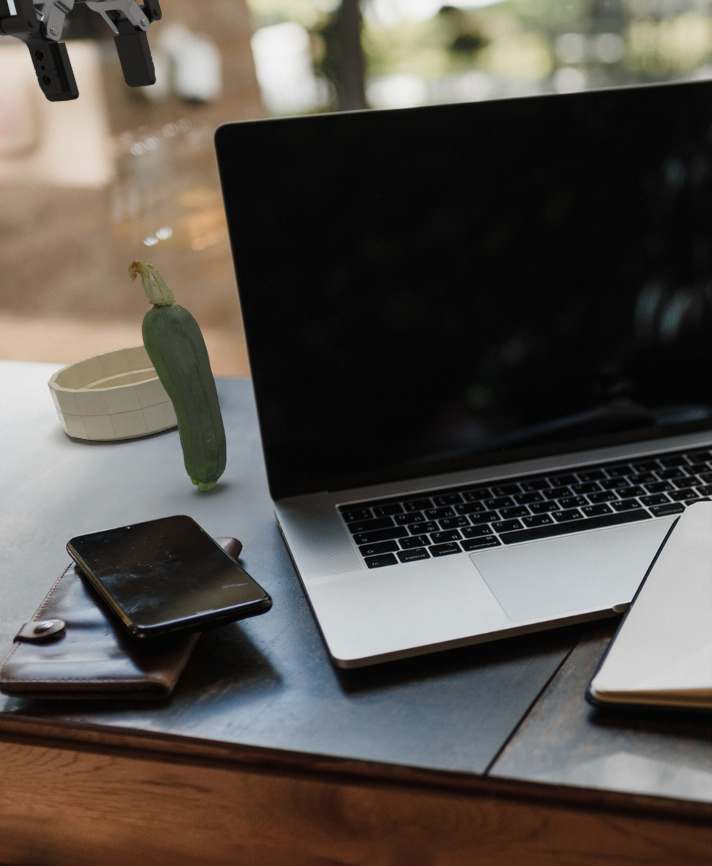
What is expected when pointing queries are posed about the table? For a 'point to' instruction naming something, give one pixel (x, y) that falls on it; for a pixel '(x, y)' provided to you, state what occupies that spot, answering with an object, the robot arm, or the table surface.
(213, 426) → the vegetable
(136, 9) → the robot arm
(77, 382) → the bowl
